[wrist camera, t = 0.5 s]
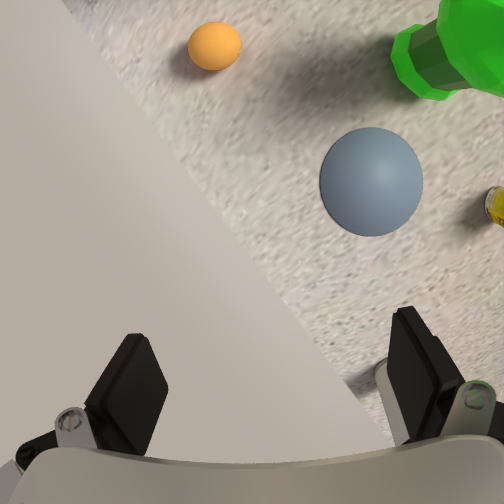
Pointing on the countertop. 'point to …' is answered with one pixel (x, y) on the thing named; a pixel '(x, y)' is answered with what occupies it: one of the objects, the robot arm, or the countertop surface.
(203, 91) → the countertop surface
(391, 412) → the travel mug
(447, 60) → the plastic bottle
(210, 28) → the ball
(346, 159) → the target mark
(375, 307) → the countertop surface
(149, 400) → the robot arm
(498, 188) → the supplement bottle
